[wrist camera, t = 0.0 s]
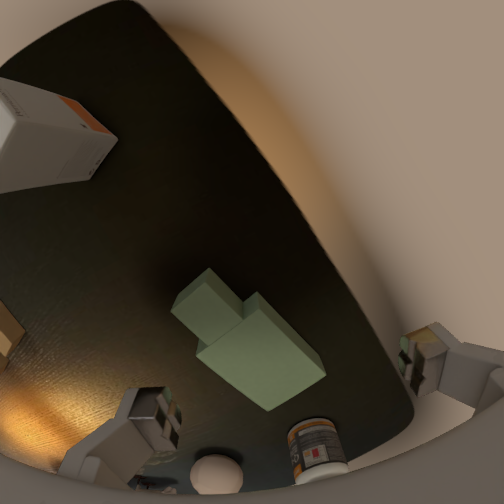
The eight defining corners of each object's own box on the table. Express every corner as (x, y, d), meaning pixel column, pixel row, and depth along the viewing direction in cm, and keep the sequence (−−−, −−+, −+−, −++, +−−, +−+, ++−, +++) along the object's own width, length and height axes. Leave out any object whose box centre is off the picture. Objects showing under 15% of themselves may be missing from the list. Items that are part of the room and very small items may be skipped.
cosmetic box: (121, 138, 19) (18, 122, 8) (90, 180, 20) (-18, 202, 9) (77, 98, 18) (-24, 69, 6) (49, 139, 19) (-55, 138, 7)
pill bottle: (279, 427, 28) (290, 499, 19) (327, 409, 28) (350, 480, 18) (296, 448, 30) (308, 512, 20) (339, 432, 29) (359, 495, 20)
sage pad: (166, 304, 23) (157, 322, 20) (222, 255, 22) (220, 268, 19) (265, 390, 26) (267, 411, 23) (319, 355, 25) (326, 375, 22)
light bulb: (226, 509, 28) (241, 503, 22) (182, 496, 28) (183, 486, 23) (237, 474, 33) (254, 456, 28) (195, 461, 34) (200, 440, 28)
